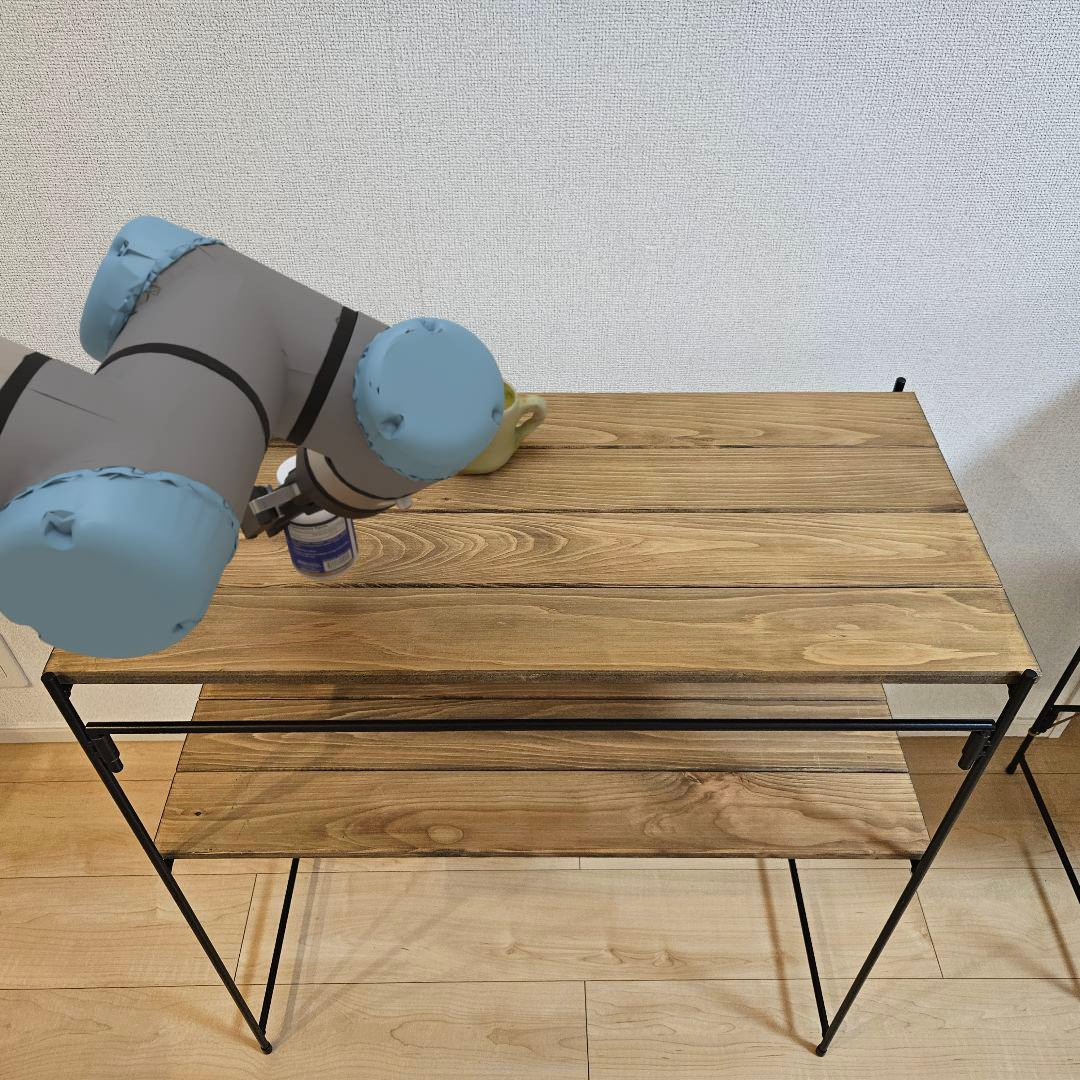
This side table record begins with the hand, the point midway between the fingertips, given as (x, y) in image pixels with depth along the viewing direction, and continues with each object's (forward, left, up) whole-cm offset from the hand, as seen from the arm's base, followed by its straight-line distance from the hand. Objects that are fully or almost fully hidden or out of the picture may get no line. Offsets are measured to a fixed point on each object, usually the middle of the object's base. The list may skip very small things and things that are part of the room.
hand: (301, 507), depth 77 cm
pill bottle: (+1, -3, -4) cm, 5 cm away
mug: (+21, +15, -10) cm, 28 cm away
